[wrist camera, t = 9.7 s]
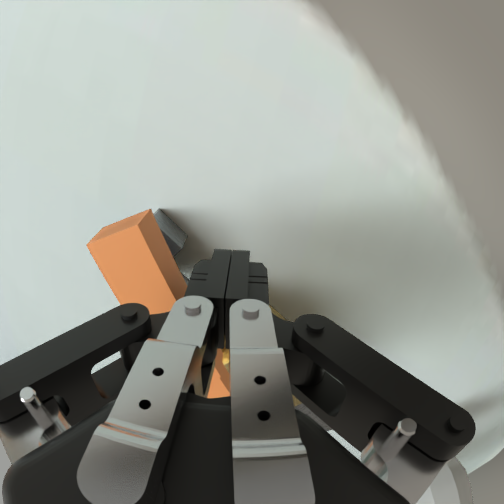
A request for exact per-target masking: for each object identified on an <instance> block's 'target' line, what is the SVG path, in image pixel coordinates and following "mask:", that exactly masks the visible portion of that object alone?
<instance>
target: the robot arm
mask: <svg viewBox="0 0 504 504" xmlns="http://www.w3.org/2000/svg"><path fill="white" fill-rule="evenodd" d="M249 257H250V251H245V250H233V251H232V250H224V249H214V253H213V257H212V260H201V261H200V262H198V263H197V264H196V265H195V266H194V269H193V272H192V274H191V277H190V280H189V283H188V286H187V289H186V292H185V295H184V297H183V298H180V299H179V300H177V301H176V302H175V303H174V305H173V306H172V309H171V311H169V312H165V313H159V314H151V315H150V313H149V310H148V308H147V307H146V306H144V305H142V304H139V303H126V304H122V305H120V306H118V307H116V308H114V309H112V310H110V311H108V312H106V313H104V314H102V315H100V316H98V317H96V318H94V319H92V320H90V321H88V322H86V323H84V324H82V325H80V326H78V327H76V328H74V329H72V330H70V331H68V332H66V333H64V334H62V335H60V336H58V337H56V338H54V339H52V340H50V341H48V342H46V343H44V344H42V345H40V346H38V347H36V348H34V349H32V350H30V351H28V352H26V353H24V354H22V355H20V356H18V357H16V358H14V359H12V360H10V361H8V362H6V363H4V364H2V365H0V438H1V441H2V443H3V446H4V448H5V450H6V453H7V455H8V457H9V459H10V462H11V464H12V465H11V467H10V468H9V469H8V471H7V473H6V475H5V478H4V481H3V486H2V495H3V502H4V504H416V503H417V502H418V500H419V499H420V498H421V497H422V495H423V494H424V493H425V491H426V490H427V489H428V487H429V486H430V485H431V483H432V482H433V480H434V479H435V478H436V476H437V475H438V473H439V472H440V470H441V469H442V468H443V467H444V466H445V465H446V464H447V463H448V462H449V461H450V460H451V459H453V458H454V457H455V456H456V455H457V454H458V453H459V452H460V451H461V450H462V449H463V448H464V447H465V446H466V445H467V444H468V443H469V442H470V441H471V440H472V439H473V437H474V435H475V430H476V429H475V422H474V420H473V418H472V416H471V415H470V414H469V413H468V412H467V411H466V410H464V409H463V408H461V407H460V406H458V405H457V404H455V403H454V402H452V401H451V400H449V399H447V398H446V397H444V396H443V395H441V394H440V393H438V392H437V391H435V390H434V389H432V388H431V387H429V386H428V385H426V384H425V383H423V382H422V381H420V380H419V379H417V378H416V377H414V376H413V375H411V374H410V373H408V372H407V371H405V370H404V369H402V368H401V367H399V366H398V365H396V364H395V363H393V362H392V361H390V360H389V359H387V358H386V357H384V356H383V355H381V354H380V353H378V352H377V351H375V350H374V349H372V348H371V347H369V346H368V345H366V344H365V343H363V342H362V341H360V340H359V339H358V338H356V337H355V336H353V335H352V334H350V333H349V332H347V331H346V330H344V329H343V328H341V327H340V326H338V325H337V324H335V323H334V322H332V321H331V320H329V319H328V318H326V317H324V316H321V315H316V314H307V315H303V316H300V317H299V318H297V319H296V321H295V322H290V321H286V320H283V319H281V318H279V317H277V316H276V315H274V314H273V313H272V312H271V309H270V307H269V296H268V278H267V269H266V267H265V266H264V265H263V264H262V263H255V262H249ZM224 345H225V349H229V386H230V396H227V397H219V398H207V396H208V392H209V388H210V384H211V380H212V376H213V372H214V368H215V358H216V355H217V349H218V348H219V349H224ZM118 351H120V354H121V358H119V359H118V360H116V361H114V362H112V363H111V364H109V365H107V366H105V367H104V368H102V369H100V370H98V371H97V372H95V373H93V374H91V370H92V368H93V366H94V365H95V364H97V363H98V362H100V361H102V360H104V359H106V358H107V357H109V356H111V355H113V354H114V353H116V352H118ZM325 370H326V371H327V372H328V373H329V374H331V375H332V376H333V377H335V378H336V379H337V380H339V381H340V382H341V383H342V384H343V385H342V384H341V383H340V382H338V381H337V380H336V379H335V378H333V377H332V376H331V375H329V374H328V373H327V372H326V371H325ZM292 395H294V396H295V397H296V398H297V399H298V400H299V401H300V402H301V403H303V404H304V405H305V406H306V407H307V408H308V409H309V410H311V411H312V412H313V413H314V414H315V415H316V416H318V417H319V418H320V419H321V420H322V421H323V422H325V423H326V424H327V425H328V426H329V427H331V428H332V429H333V430H334V431H335V432H337V433H338V434H339V435H340V436H341V437H343V438H344V439H345V440H346V441H347V442H349V443H350V444H351V445H352V446H354V447H355V448H356V449H357V450H359V451H360V452H361V461H359V460H358V459H357V458H356V457H355V456H354V455H352V454H351V453H350V452H349V451H348V450H347V449H346V448H344V447H343V446H342V445H341V444H340V443H339V442H338V441H337V440H335V439H334V438H333V437H332V436H331V435H330V434H329V433H328V432H327V431H326V430H324V429H323V428H322V427H321V426H320V425H319V424H318V423H317V422H316V421H315V420H313V419H312V418H311V417H309V416H308V415H306V414H304V413H303V412H301V411H299V410H296V409H295V407H294V402H293V397H292Z"/></svg>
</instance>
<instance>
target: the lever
mask: <svg viewBox="0 0 504 504" xmlns="http://www.w3.org/2000/svg"><path fill="white" fill-rule="evenodd" d="M87 247H88V249H89V251H90V253H91V254H92V256H93V258H94V260H95V262H96V263H97V265H98V267H99V269H100V271H101V272H102V274H103V276H104V278H105V279H106V281H107V283H108V284H109V286H110V288H111V289H112V291H113V293H114V294H115V296H116V298H117V299H118V301H119V303H120V304H121V305H122V304H126V303H139V304H142V305H144V306H146V307H147V308H148V310H149V313H150V315H151V314H159V313H165V312H169V311H171V309H172V306H173V305H174V303H175V302H176V301H177V300H179V299H180V298H183V297H184V295H185V292H186V289H187V284H186V282H185V280H184V278H183V276H182V274H181V272H180V270H179V268H178V266H177V264H176V262H175V260H174V258H173V256H172V254H171V251H170V249H169V247H168V245H167V243H166V241H165V239H164V237H163V235H162V232H161V230H160V228H159V226H158V224H157V222H156V219H155V217H154V215H153V213H152V210H151V209H149V210H146V211H144V212H141V213H138V214H136V215H133V216H131V217H128V218H126V219H123V220H121V221H118V222H116V223H113V224H111V225H108V226H106V227H103V228H102V229H101V230H100V231H99V232H98V233H97V234H96V235H95V236H94V237H93V238H92V239H91V240H90V242H89V243H88V244H87ZM222 361H223V352H222V350H221V349H219V348H218V349H217V355H216V358H215V368H214V372H213V376H212V380H211V384H210V388H209V392H208V396H207V398H219V397H227V396H230V386H229V373H228V371H227V369H226V367H225V366H224V364H223V362H222Z"/></svg>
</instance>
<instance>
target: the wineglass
mask: <svg viewBox="0 0 504 504" xmlns="http://www.w3.org/2000/svg"><path fill="white" fill-rule="evenodd" d="M416 504H473V496H472V489H471V484H470V481H469V478H468V475H467V472H466V469H465V468H464V467H463V466H462V464H461V463H460V462H459V461H458V459H457V458H456V457H454V458H453V459H451V460H450V461H449V462H448V463H447V464H446V465H445V466H444V467H443V468H442V469H441V470H440V472H439V473H438V475H437V476H436V478H435V479H434V480H433V482H432V483H431V485H430V486H429V487H428V489H427V490H426V491H425V493H424V494H423V495H422V497H421V498H420V499H419V500H418V502H417V503H416Z"/></svg>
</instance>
